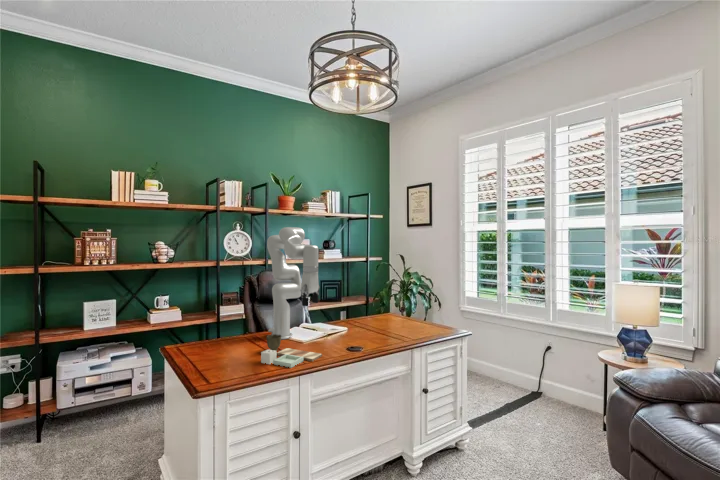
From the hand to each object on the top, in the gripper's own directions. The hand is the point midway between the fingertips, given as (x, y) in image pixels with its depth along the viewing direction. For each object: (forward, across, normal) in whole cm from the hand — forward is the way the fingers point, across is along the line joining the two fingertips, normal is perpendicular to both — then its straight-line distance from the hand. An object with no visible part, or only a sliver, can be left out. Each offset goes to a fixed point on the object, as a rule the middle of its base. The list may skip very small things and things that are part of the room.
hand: (310, 304), depth 184 cm
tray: (+25, +14, -3) cm, 29 cm away
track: (+25, +3, -4) cm, 26 cm away
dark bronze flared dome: (+25, +3, -20) cm, 32 cm away
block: (+25, +17, -12) cm, 33 cm away
